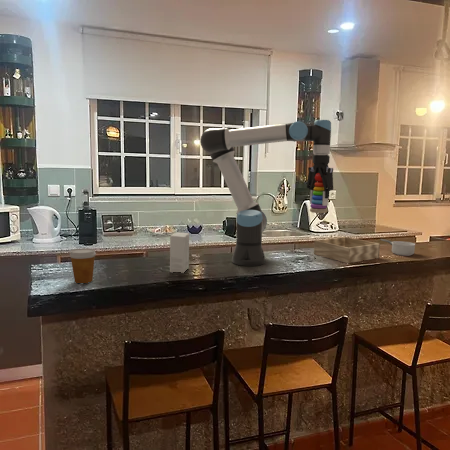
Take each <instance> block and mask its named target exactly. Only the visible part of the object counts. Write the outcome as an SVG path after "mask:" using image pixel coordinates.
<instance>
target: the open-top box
mask: <svg viewBox="0 0 450 450" xmlns="http://www.w3.org/2000/svg"><path fill="white" fill-rule="evenodd" d="M380 249H381V243H378V242H372V241H368V240H363V239H358V238H352V237H347V236H341V237H333V238H324V239H323V238H322V239H316V240H315V239H314V248H313V255H317V256H319V257H322V258H323V257H324V258H327V259H331V260H334V261H339V262H343V263H345V264H351V263H357V262H363V260H364V261H369V260H376V259H380V251H381V250H380ZM375 258H376V259H375Z"/></svg>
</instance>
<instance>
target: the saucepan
mask: <svg viewBox="0 0 450 450" xmlns="http://www.w3.org/2000/svg"><path fill="white" fill-rule="evenodd" d="M380 241H383V242H386V243H388V244H389V245H391V252H392V253H393V254H394V255H397V256H405V257H407V256H408V257H410V256H412V255H414V254H415V249H416V248H415V246H416V244H417V243H415V242H410V241H399V240H398V241H396V240H395V241H391V240H388V239H385V238H380Z"/></svg>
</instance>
